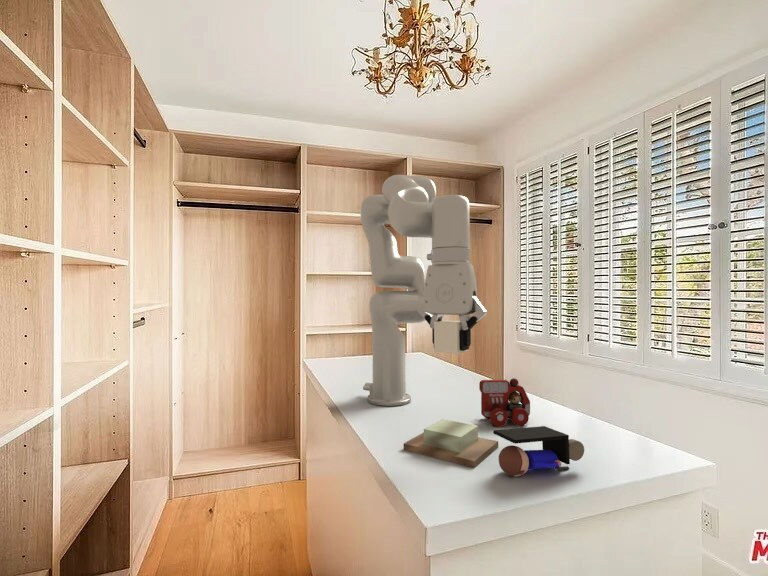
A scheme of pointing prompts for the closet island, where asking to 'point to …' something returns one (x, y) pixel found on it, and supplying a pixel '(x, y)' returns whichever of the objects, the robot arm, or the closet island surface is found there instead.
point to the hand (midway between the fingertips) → (451, 347)
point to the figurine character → (553, 451)
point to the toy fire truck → (504, 402)
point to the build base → (454, 456)
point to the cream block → (447, 337)
